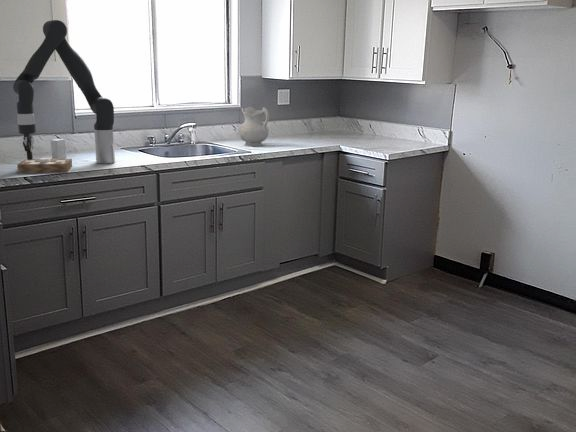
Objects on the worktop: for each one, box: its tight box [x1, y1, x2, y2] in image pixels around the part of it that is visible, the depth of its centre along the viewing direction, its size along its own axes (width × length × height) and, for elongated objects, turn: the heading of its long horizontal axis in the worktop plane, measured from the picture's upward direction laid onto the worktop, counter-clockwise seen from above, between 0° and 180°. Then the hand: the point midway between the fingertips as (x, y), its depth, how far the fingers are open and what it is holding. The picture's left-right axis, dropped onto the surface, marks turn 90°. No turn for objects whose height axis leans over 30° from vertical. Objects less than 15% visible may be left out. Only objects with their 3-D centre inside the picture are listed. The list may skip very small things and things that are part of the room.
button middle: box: [39, 157, 51, 162], centre depth 294 cm, size 4×4×2 cm
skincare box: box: [50, 138, 67, 159], centre depth 313 cm, size 6×4×12 cm
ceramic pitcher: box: [237, 105, 270, 147], centre depth 388 cm, size 22×20×25 cm
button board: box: [16, 158, 73, 174], centre depth 294 cm, size 22×16×4 cm
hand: (30, 159), depth 293 cm, fingers closed
